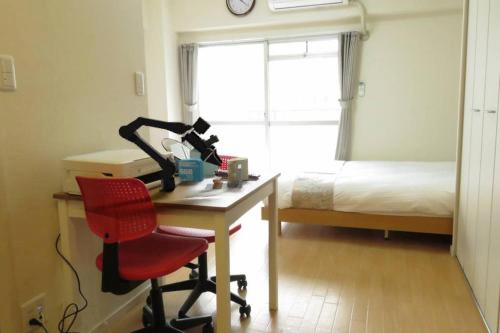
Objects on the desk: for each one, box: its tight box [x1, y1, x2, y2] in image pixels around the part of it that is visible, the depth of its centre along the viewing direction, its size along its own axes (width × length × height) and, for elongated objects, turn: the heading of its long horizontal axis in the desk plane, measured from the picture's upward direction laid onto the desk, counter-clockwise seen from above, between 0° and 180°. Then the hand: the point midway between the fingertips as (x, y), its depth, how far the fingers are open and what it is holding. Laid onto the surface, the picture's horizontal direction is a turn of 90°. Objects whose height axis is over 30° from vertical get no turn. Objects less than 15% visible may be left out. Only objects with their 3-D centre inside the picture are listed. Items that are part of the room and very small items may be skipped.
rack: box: [204, 164, 244, 190], centre depth 182 cm, size 18×12×10 cm
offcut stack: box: [212, 176, 224, 189], centre depth 183 cm, size 4×10×4 cm, turn 0°
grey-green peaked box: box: [189, 147, 219, 178], centre depth 216 cm, size 16×8×20 cm, turn 80°
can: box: [229, 157, 249, 182], centre depth 197 cm, size 9×9×12 cm
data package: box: [177, 158, 205, 183], centre depth 199 cm, size 12×4×12 cm, turn 76°
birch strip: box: [226, 159, 237, 183], centre depth 182 cm, size 4×2×12 cm, turn 90°
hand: (221, 164), depth 181 cm, fingers open, 9 cm apart
